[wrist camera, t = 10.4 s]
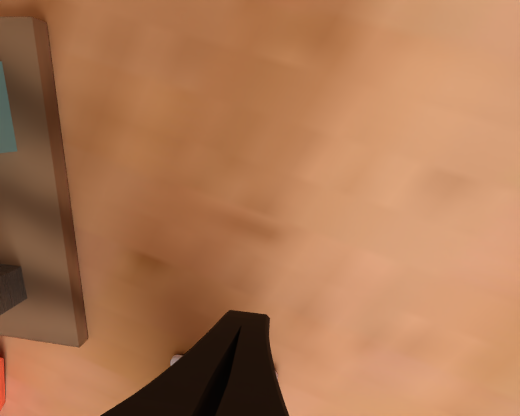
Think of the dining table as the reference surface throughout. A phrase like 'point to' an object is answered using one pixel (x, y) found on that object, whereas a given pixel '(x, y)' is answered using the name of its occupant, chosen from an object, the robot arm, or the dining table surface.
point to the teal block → (5, 119)
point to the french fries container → (2, 383)
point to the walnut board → (37, 195)
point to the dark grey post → (11, 287)
